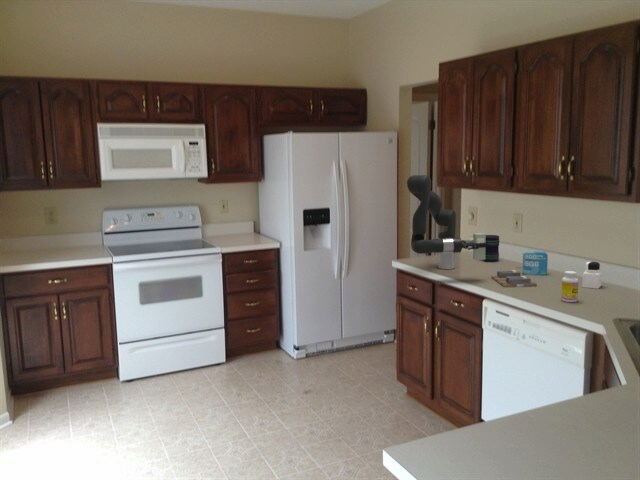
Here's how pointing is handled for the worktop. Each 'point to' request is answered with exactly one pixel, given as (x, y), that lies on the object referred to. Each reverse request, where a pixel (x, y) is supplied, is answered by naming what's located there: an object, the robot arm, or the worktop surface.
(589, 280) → the medicine bottle
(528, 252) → the blue product box
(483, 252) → the block
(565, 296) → the supplement bottle
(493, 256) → the storage jar
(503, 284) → the rail board
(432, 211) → the robot arm
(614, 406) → the worktop surface
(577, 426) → the worktop surface
